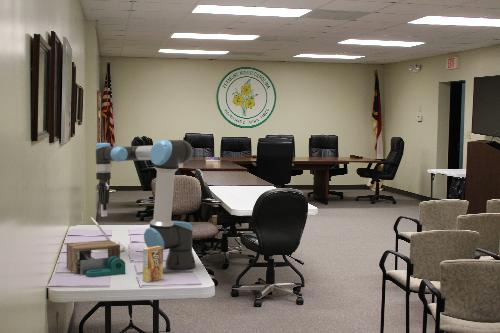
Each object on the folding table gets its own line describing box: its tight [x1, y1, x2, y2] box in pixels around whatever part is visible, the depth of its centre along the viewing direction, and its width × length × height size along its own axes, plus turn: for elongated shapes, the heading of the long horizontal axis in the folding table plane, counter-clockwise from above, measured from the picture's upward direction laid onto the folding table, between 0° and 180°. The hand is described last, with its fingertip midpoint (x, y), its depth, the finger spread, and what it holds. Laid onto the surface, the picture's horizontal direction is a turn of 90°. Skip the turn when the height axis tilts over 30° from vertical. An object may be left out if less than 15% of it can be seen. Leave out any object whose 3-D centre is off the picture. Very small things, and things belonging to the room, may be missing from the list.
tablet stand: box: [90, 216, 126, 255], centre depth 371 cm, size 18×25×17 cm
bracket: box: [85, 256, 126, 278], centre depth 309 cm, size 18×7×8 cm, turn 121°
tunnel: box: [66, 239, 121, 275], centre depth 320 cm, size 16×22×12 cm
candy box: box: [142, 246, 164, 283], centre depth 299 cm, size 9×4×15 cm, turn 137°
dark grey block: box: [78, 250, 111, 275], centre depth 323 cm, size 27×19×9 cm
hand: (104, 216), depth 343 cm, fingers closed
